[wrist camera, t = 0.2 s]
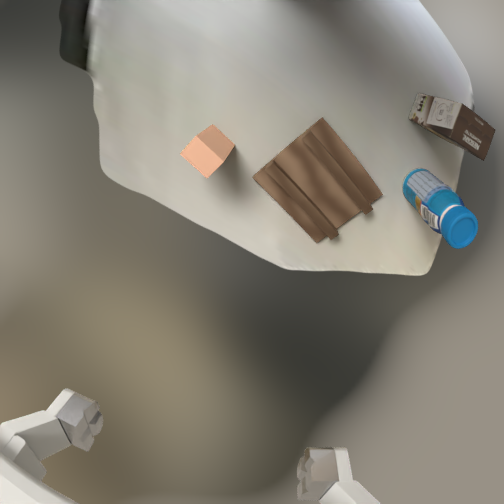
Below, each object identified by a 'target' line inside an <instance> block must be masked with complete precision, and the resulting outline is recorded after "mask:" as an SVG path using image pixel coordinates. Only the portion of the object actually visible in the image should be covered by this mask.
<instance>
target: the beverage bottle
mask: <svg viewBox="0 0 504 504" xmlns="http://www.w3.org/2000/svg"><path fill="white" fill-rule="evenodd" d="M403 193H404V196H405V197H406V199H407V200H408V201H409V202H410V203H411V204H412V205H413V206H414V208H415V209H416V210H417V211H418V212H419V214H420V215H421V216H422V218H423V220H424V221H425V222H426V223H427V224H428V225H429V226H430V227H431V228H432V229H433V230H434V231H435V232H437V233H439V234H442V236H443V237H444V238H445V240H446V241H447V242H448V244H449V245H451V246H452V247H453V248H457V249H460V248H464V247H466V246H467V245H469V244H470V243H471V242H472V241H473V239H474V238H475V236H476V234H477V230H478V222H477V219H476V217H475V216H474V214H473V213H472V212H471V211H469V210H468V209H467V208H466V207H465V206H464V203H463V201H462V199H461V198H460V197H459V195H458V194H456V193H455V192H454V191H453V190H452V189H451V188H450V187H449V186H447V185H445V184H444V183H443V182H442V181H440V180H439V179H438V178H436V177H435V176H434V175H433V174H431V173H430V172H429V171H428V170H426V169H423V168H417V169H414V170H412V171H411V172H409V173H408V174H407V176H406V177H405V179H404V182H403Z"/></svg>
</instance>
